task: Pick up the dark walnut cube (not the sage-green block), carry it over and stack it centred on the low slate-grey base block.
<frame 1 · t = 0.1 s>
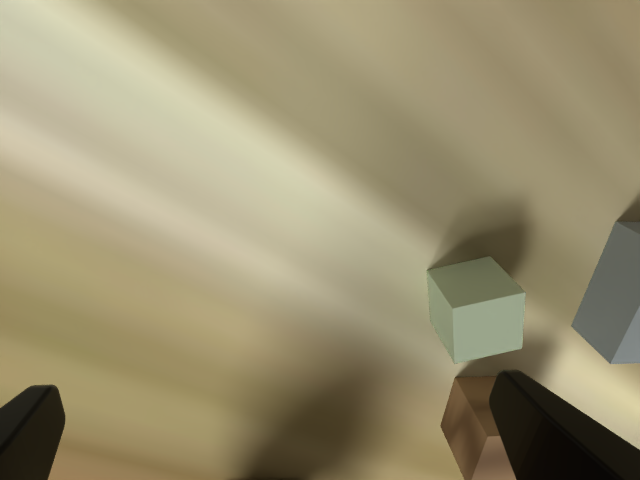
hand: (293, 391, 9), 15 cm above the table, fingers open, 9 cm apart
sage block: (458, 289, 27), on the table
walnut cube: (478, 400, 32), on the table
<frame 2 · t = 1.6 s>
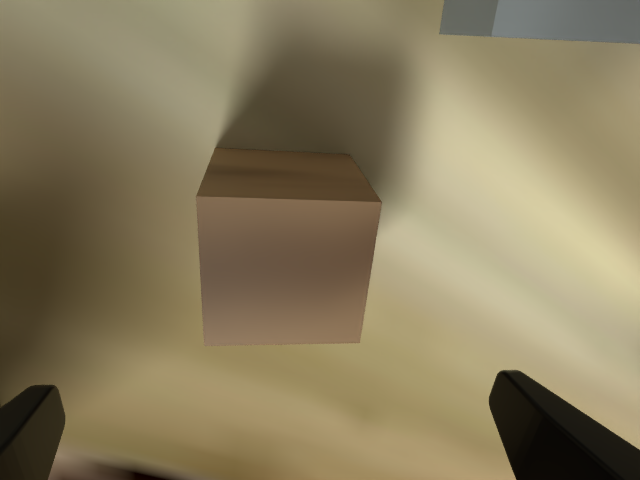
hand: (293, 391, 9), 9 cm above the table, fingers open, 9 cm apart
walnut cube: (281, 212, 17), on the table
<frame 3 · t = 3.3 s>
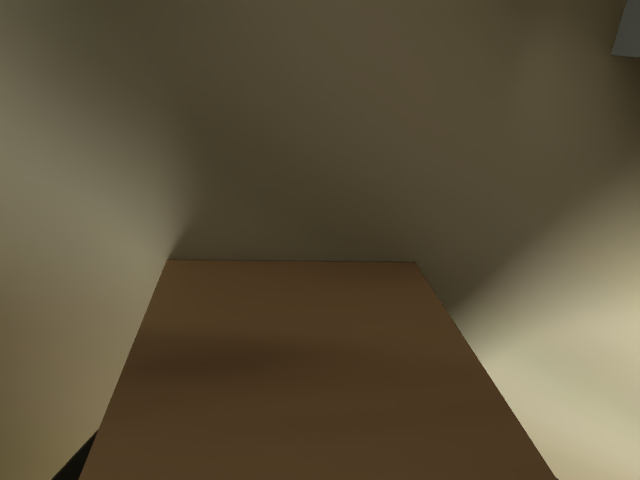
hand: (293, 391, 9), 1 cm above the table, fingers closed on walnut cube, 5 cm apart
walnut cube: (290, 356, 10), on the table, touching gripper
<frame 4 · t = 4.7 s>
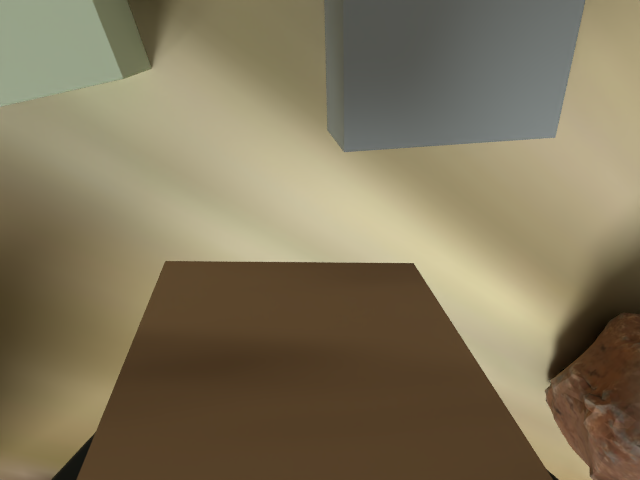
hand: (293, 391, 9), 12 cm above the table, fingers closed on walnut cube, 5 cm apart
base block: (421, 22, 17), on the table
decorative rock: (606, 355, 27), on the table
sage block: (76, 22, 15), on the table
walnut cube: (288, 357, 10), point 11 cm above the table, touching gripper
when the fingers open (6 cm above the table, at t = 6.4 s): walnut cube drops 2 cm, resting on base block.
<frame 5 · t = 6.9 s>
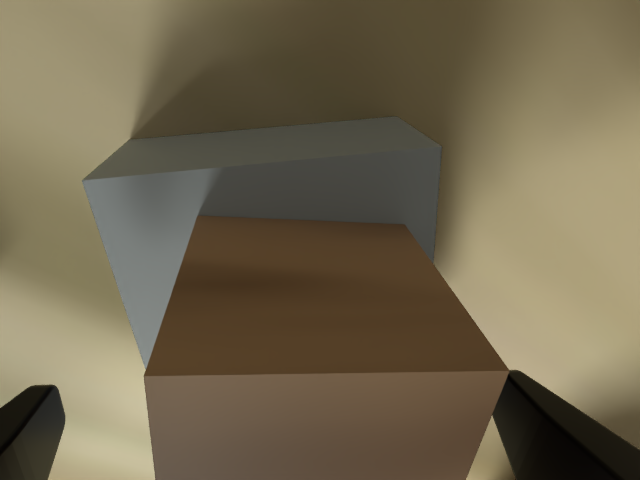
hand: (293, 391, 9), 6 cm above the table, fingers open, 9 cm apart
base block: (279, 240, 15), on the table, touching walnut cube
walnut cube: (297, 305, 11), point 4 cm above the table, touching base block
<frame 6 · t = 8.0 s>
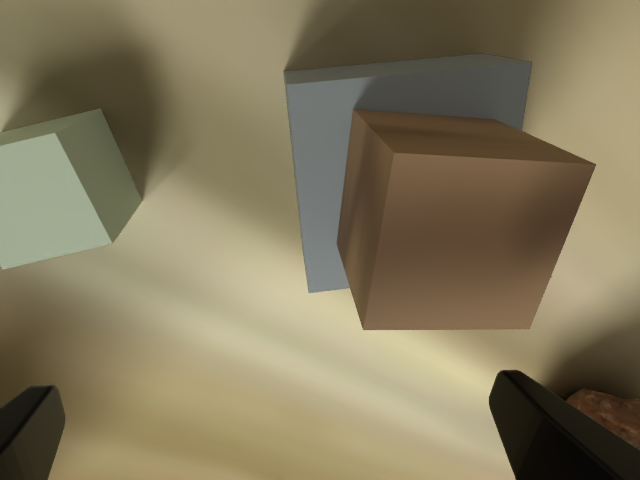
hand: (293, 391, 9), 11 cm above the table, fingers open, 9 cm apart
base block: (382, 157, 19), on the table
decorative rock: (571, 420, 29), on the table
sage block: (76, 167, 17), on the table
walnut cube: (411, 184, 15), point 4 cm above the table
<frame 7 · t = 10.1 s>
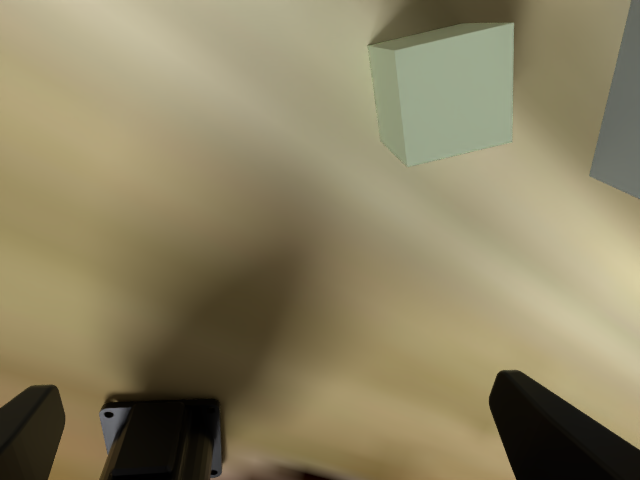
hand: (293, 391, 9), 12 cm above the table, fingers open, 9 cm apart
sage block: (419, 85, 18), on the table
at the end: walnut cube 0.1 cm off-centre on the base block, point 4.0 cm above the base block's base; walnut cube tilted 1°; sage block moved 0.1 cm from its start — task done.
